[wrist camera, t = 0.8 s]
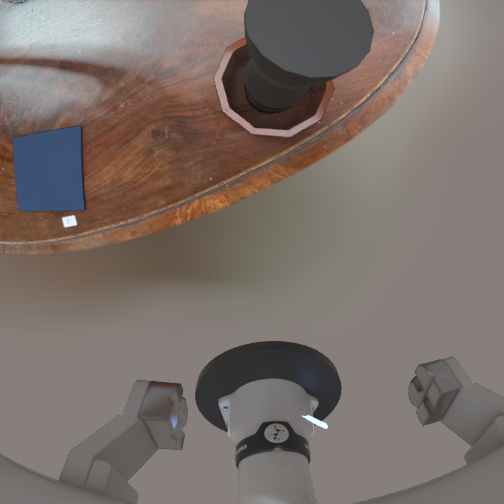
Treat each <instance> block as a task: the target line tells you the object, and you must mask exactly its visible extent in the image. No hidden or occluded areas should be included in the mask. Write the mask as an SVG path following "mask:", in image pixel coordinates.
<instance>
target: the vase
mask: <svg viewBox="0 0 504 504" xmlns="http://www.w3.org/2000/svg"><path fill="white" fill-rule="evenodd" d="M2 1H6V2H10V3H20V2H23V1H26V0H2Z"/></svg>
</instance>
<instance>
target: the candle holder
mask: <svg viewBox="0 0 504 504" xmlns="http://www.w3.org/2000/svg"><path fill="white" fill-rule="evenodd" d="M244 23H245V38H246V44H247V49H248V54H249V55H250V57H251V59H250V60H249V61H248V63H247V64H246V68H245V72H244V80H245V84H244V89H245V95H246V99H247V100H248V102H249V103H250V105H251V106H252V107H253V108H255V109H256V110H258V111H259V112H263V113H267V114H274V113H280V112H281V111H283V110H285V109H287V108H289V107H290V106H292V105H293V104H295V103H297V102H299V101H301V99H302V98H303V97H304V96H305V94H306V93H307V92H308V90H309V88H310V87H312V86H320V85H322V84H324V83H326V82H328V81H330V80H332V79H334V78H337V77H338V76H340V75H342V74H344V73H346V72H348V71H350V70H352V69H354V68H356V67H357V66H358V65H359V64H360V62H361V61H362V60H363V59H364V58H365V56H366V55H367V54H368V53H369V52H370V48H371V43H372V38H373V33H374V31H373V27H372V23H371V19H370V15H369V11H368V10H367V8H366V7H365V6H364V4H363V3H362V2H361V0H249V1H248V4H247V7H246V10H245V13H244Z"/></svg>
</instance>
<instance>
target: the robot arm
mask: <svg viewBox="0 0 504 504" xmlns="http://www.w3.org/2000/svg"><path fill="white" fill-rule="evenodd" d="M415 374H416V376H415V377H414V378H413V379H412V380H411V382H410V385H409V392H408V394H409V399H410V401H411V403H412V405H414V406H416V407H417V412H416V414H417V416H418V418H419V420H420V422H421V424H422V426H424V425H428V424H431V423H435V422H438V421H441V422H442V423H443V424H444V425H445V426H446V427H448V428H449V429H450V430H452V431H453V432H454V433H456V434H457V435H458V436H459V437H461V438H462V439H463V440H464V441H466V442H467V443H468V444H470V445H471V446H472V447H471V449H470V450H469V451H468V452H467V453H466V454H465V457H464V458H465V460H466V463H467V465H465V466H463V467H461V468H459V469H457V470H454V471H452V472H450V473H448V474H445V475H443V476H441V477H438V478H435V479H433V480H430V481H428V482H425V483H422V484H419V485H417V486H414V487H411V488H408V489H405V490H402V491H398V492H395V493H392V494H388V495H384V496H381V497H377V498H373V499H369V500H365V501H360V502H356V503H351V504H504V397H502V396H500V395H498V394H496V393H494V392H492V391H490V390H488V389H486V388H484V387H482V386H481V385H479V384H477V383H475V384H473V383H472V381H471V380H470V378H469V377H468V375H467V374H466V373H465V371H464V370H463V368H462V367H461V365H460V364H459V363H458V361H457V360H456V358H454V357H448V358H444V359H439V360H435V361H431V362H427V363H423V364H420V365H418V366H417V368H416V370H415ZM182 394H183V388H182V385H181V384H179V383H167V382H156V381H145V380H137V381H136V382H135V383H134V385H133V387H132V390H131V393H130V396H129V398H128V401H127V404H126V406H125V409H124V413H123V415H122V416H120V415H118V416H117V417H115V418H114V419H113V420H111V421H110V422H109V423H108V424H106V425H105V426H103V427H102V428H100V429H99V430H98V431H96V432H95V433H94V434H92V435H91V436H89V437H88V438H87V439H85V440H84V441H83V442H81V443H80V444H78V445H77V446H76V447H74V448H73V449H71V450H70V453H69V455H68V457H67V460H66V462H65V465H64V467H63V470H62V472H61V475H60V478H59V480H55V479H53V478H50V477H48V476H45V475H43V474H41V473H38V472H36V471H34V470H32V469H29V468H27V467H25V466H23V465H21V464H19V463H17V462H15V461H13V460H11V459H9V458H7V457H5V456H3V455H1V454H0V504H137V500H138V493H137V492H136V491H135V490H134V489H133V488H132V487H131V486H130V484H128V482H127V481H128V480H129V479H130V478H131V477H132V476H133V475H134V474H135V473H136V472H137V471H138V470H139V469H140V468H141V467H142V466H143V465H144V464H145V463H146V461H148V460H149V458H150V457H151V456H152V455H153V454H154V453H155V452H156V451H157V450H158V449H157V448H160V449H172V450H182V448H183V442H184V436H185V435H184V432H183V429H182V428H183V427H184V426H185V425H186V424H187V417H188V416H187V415H188V408H187V402H186V399H185V398H183V397H182ZM218 403H219V407H220V410H221V413H222V416H223V418H224V421H225V423H226V426H227V429H228V436H230V437H231V440H232V442H233V444H234V446H235V447H236V453H235V461H236V467H237V468H238V503H239V504H319V503H318V501H317V499H316V496H315V492H314V489H313V485H312V480H311V475H310V470H309V463H310V448H309V445H308V441H309V440H310V439H311V438H312V436H313V435H314V433H315V430H314V423H315V424H317V425H319V426H321V427H324V428H327V424H325V423H323V422H321V421H319V420H317V419H315V418H313V412H314V411H315V410H316V408H317V407H318V404H319V403H318V399H317V398H315V397H313V396H311V395H309V394H307V393H306V391H305V390H304V389H303V388H302V387H301V386H300V385H298V384H296V383H294V382H292V381H289V380H284V379H274V378H271V379H261V380H256V381H252V382H249V383H247V384H245V385H243V386H241V387H240V388H238V389H237V390H236V391H235V392H233V393H232V394H230V395H227V396H224V397H222V398H220V399H219V400H218Z"/></svg>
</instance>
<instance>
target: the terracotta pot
mask: <svg viewBox="0 0 504 504" xmlns="http://www.w3.org/2000/svg"><path fill="white" fill-rule="evenodd" d="M248 58H250V55H249V54H248V49H247V44H246V38H245V37H244V38H242V39H240V40H238V41H237V42H235V43H233V44H231V45H230V46H228V47H227V49H226V51H225V53H224V55H223V57H222V60H221V62H220V64H219V66H218V69H217V71H216V73H215V76H214V83H215V86H216V90H217V93H218V97H219V100H220V104H221V107H222V111H223V113H225V114H226V115H227V116H229V117H230V118H231V119H232V120H234V121H235V122H236V123H238V124H239V125H240V126H242V127H243V128H244V129H245V130H247V131H248V132H249V133H251V134H252V135H261V136H275V137H287V138H290V137H292V136H294V135H296V134H297V133H299V132H301V131H303V130H304V129H306V128H308V127H310V126H311V125H313V124H315V123H317V122H319V121H320V120H321V119H322V117H323V115H324V112H325V110H326V108H327V105H328V103H329V101H330V98H331V96H332V93H333V91H334V85H333V82H332V80H330V81H328V82H326V83H324V84H322V85H320V86H312V87H311V90H312V93H313V95H312V98H311V100H310V102H309V105H308V107H307V109H306V112H305V114H304V117H303V118H301V119H299V120H297V121H296V122H294V123H292V124H290V125H289V126H287V127H285V128H283V129H272V128H258V127H254V126H253V125H252V124H251V123H249V122H248V121H247V120H245V119H244V118H243V117H242V116H240V115H239V114H238V113H236V112H235V111H234V110H233V109H232V105H231V102H230V98H229V95H228V91H227V86H228V83H229V81H230V79H231V76H232V74H233V72H234V69H235V67H236V65H237V64H239V63H241V62H243V61H244V60H246V59H248Z"/></svg>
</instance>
